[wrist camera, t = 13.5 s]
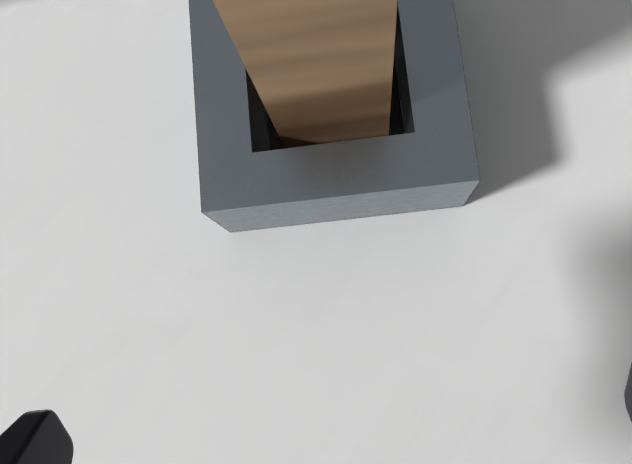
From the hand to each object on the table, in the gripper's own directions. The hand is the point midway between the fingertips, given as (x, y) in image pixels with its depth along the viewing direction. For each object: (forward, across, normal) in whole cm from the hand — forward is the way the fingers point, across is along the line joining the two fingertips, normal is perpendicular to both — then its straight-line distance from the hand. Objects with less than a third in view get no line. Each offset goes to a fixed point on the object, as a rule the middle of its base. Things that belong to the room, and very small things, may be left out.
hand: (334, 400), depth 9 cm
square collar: (+17, 0, +2) cm, 17 cm away
